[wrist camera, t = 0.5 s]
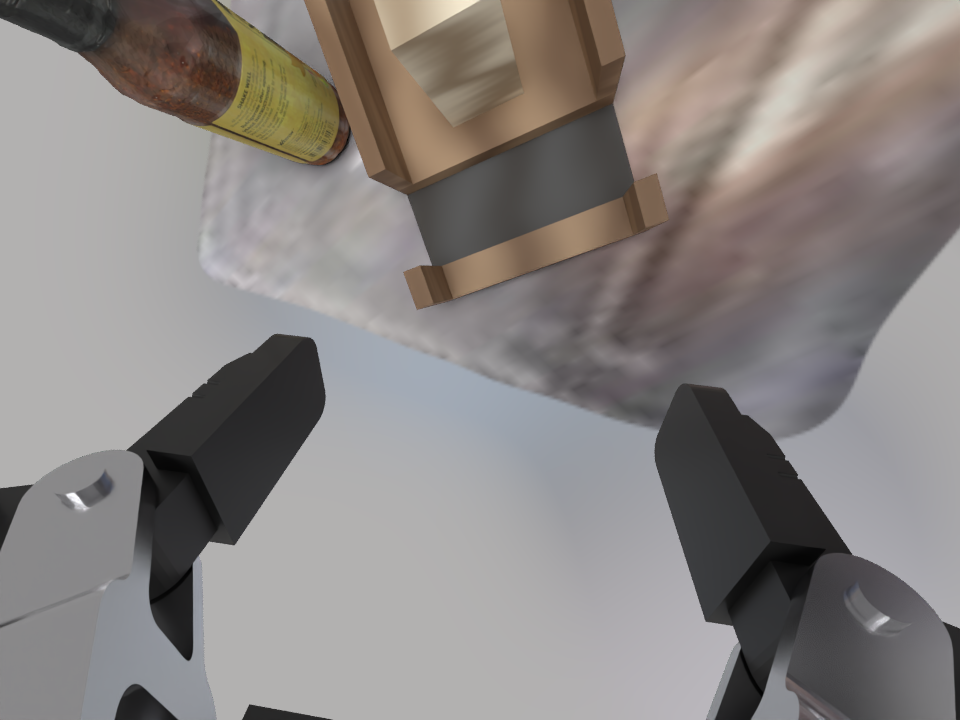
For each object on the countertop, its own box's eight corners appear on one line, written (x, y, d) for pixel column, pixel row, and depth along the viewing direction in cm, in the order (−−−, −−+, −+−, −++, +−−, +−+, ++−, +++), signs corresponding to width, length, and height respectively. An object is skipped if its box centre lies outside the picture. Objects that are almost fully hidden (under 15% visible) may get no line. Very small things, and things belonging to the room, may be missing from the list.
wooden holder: (555, -102, 25) (551, -226, 19) (646, 230, 28) (669, 219, 22) (348, 23, 29) (288, -44, 23) (446, 301, 32) (417, 309, 26)
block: (501, 19, 25) (460, -133, 16) (523, 93, 26) (497, -10, 16) (430, 58, 26) (352, -61, 17) (453, 127, 27) (391, 50, 18)
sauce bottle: (347, 73, 30) (-41, -272, 11) (359, 163, 31) (31, -2, 12) (271, 89, 31) (-188, -190, 12) (285, 175, 32) (-111, 43, 14)
